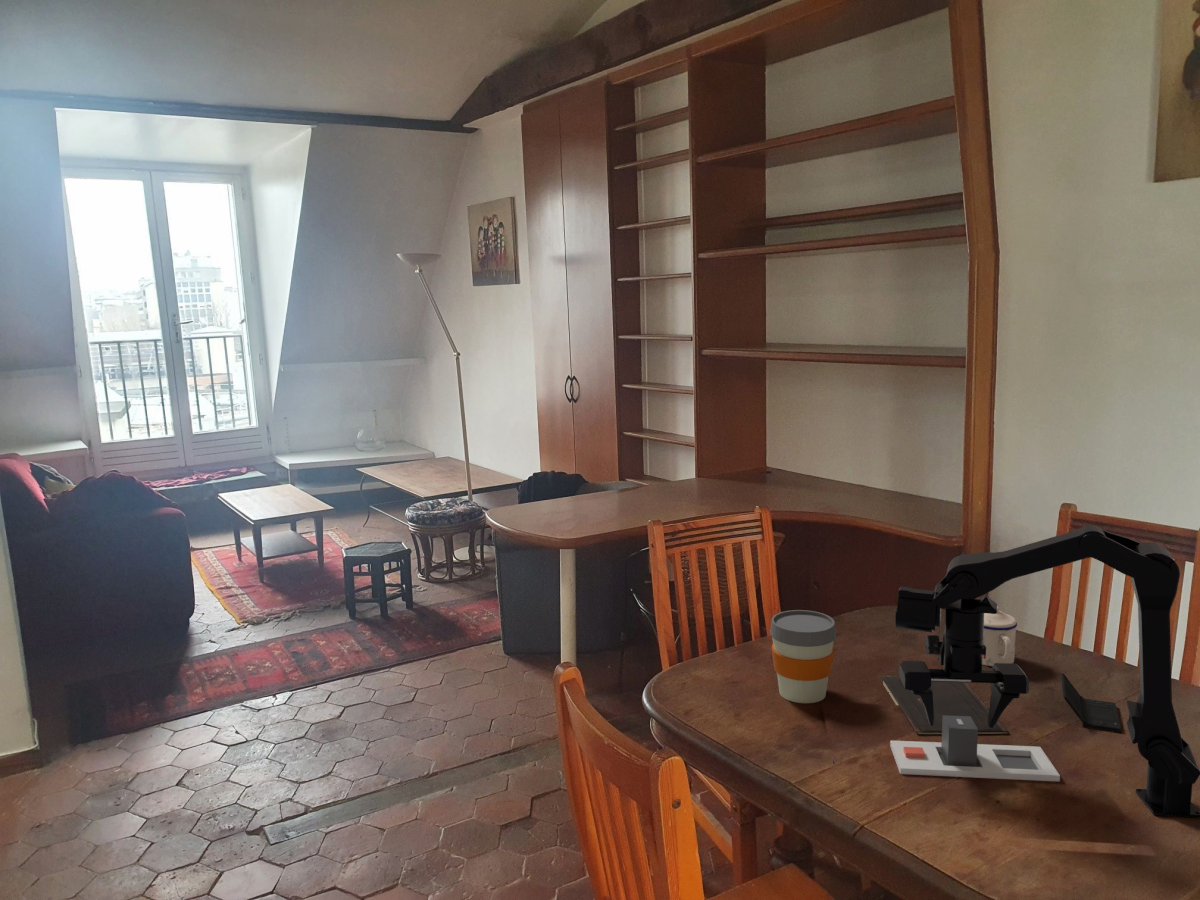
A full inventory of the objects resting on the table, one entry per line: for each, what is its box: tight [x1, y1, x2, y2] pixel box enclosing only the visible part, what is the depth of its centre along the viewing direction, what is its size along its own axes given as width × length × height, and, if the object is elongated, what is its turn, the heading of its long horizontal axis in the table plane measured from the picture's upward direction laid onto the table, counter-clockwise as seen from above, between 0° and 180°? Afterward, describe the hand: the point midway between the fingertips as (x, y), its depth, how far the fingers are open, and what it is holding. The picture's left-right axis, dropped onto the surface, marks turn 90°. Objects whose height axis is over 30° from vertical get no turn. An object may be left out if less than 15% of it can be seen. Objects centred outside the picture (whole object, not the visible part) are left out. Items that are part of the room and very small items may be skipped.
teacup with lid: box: [982, 606, 1018, 668], centre depth 181 cm, size 12×9×12 cm
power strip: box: [832, 740, 1061, 783], centre depth 142 cm, size 9×34×3 cm, turn 81°
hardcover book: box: [880, 674, 1010, 735], centre depth 162 cm, size 16×23×2 cm
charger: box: [941, 715, 979, 767], centre depth 141 cm, size 4×4×7 cm
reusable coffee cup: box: [769, 609, 837, 704], centre depth 170 cm, size 13×13×15 cm
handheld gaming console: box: [1060, 673, 1122, 734], centre depth 158 cm, size 12×7×10 cm
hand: (960, 726), depth 141 cm, fingers open, 9 cm apart
